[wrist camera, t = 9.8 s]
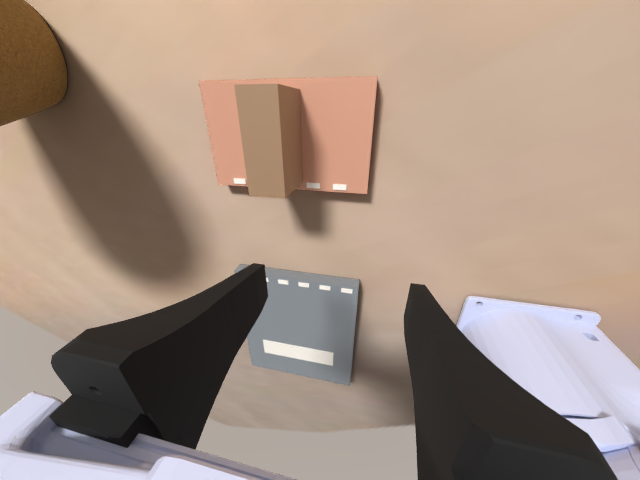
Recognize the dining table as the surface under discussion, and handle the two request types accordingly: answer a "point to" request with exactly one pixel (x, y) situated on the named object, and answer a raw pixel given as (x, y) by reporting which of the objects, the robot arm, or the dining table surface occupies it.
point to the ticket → (306, 325)
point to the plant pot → (28, 63)
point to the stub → (291, 133)
